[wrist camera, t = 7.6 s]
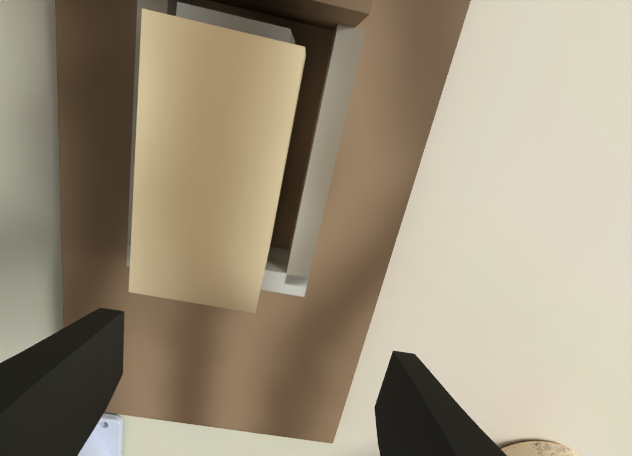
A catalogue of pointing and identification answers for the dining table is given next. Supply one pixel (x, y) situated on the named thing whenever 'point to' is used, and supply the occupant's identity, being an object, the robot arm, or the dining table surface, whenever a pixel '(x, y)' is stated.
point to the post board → (291, 218)
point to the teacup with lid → (538, 449)
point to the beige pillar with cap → (210, 153)
